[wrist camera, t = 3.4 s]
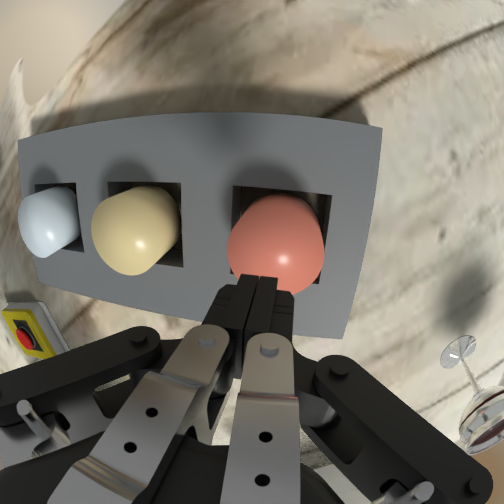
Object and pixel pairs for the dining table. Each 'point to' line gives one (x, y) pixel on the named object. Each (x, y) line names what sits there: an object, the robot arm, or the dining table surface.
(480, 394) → the wineglass
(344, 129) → the control panel
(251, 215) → the red button
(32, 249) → the blue button
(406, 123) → the dining table surface
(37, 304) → the emergency button
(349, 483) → the basket
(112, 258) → the ochre button
